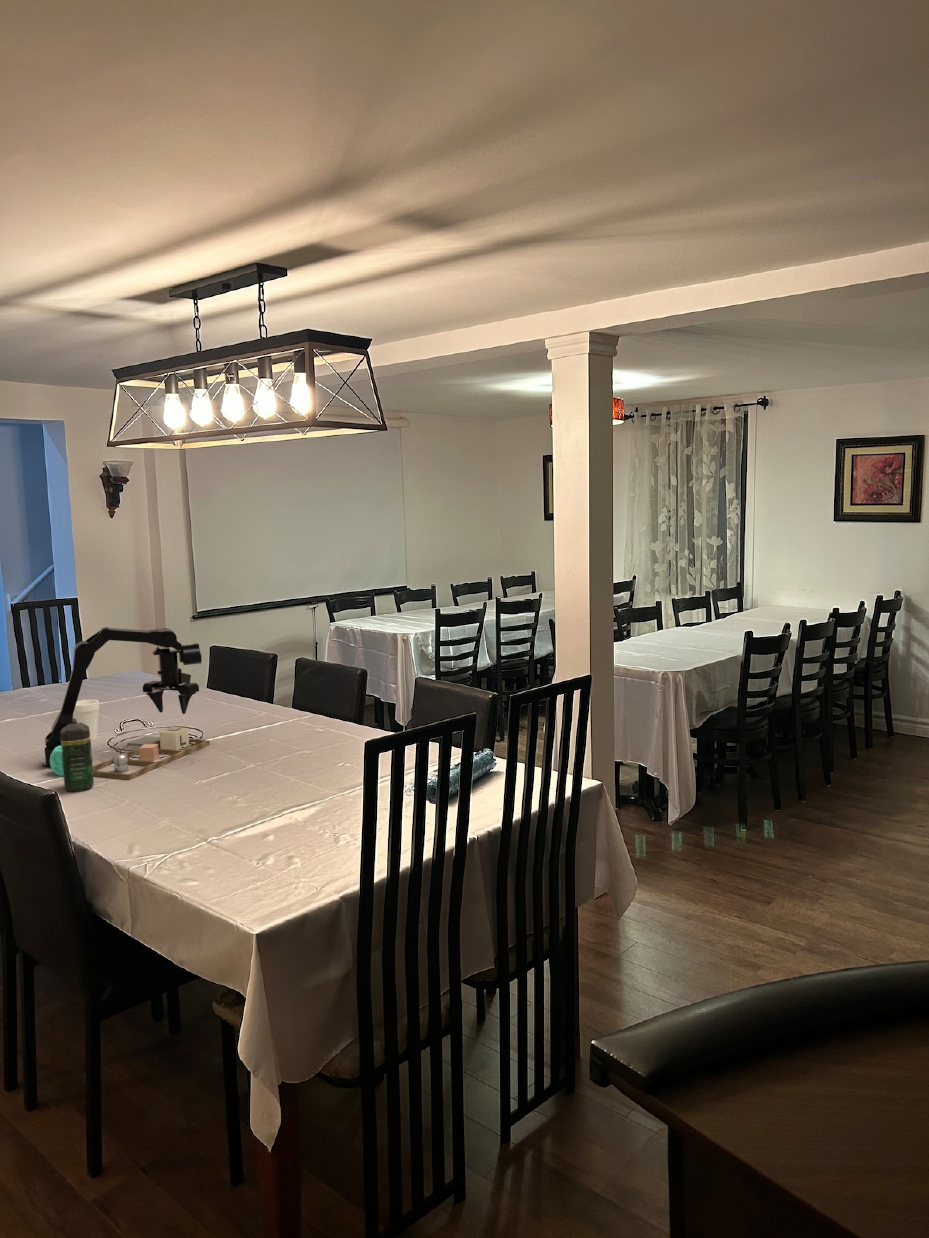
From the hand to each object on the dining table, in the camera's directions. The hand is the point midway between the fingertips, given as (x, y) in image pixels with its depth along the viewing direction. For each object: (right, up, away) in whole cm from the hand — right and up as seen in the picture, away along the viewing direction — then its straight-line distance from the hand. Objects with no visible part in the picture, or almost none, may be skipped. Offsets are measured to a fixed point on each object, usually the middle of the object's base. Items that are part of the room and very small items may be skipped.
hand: (172, 713), depth 299 cm
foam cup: (-35, -11, +17) cm, 41 cm away
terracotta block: (-4, -14, -10) cm, 18 cm away
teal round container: (-24, -16, -22) cm, 36 cm away
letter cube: (0, -12, +2) cm, 12 cm away
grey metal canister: (-9, -16, -22) cm, 28 cm away
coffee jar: (-15, -18, -37) cm, 44 cm away
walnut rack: (-4, -14, -10) cm, 18 cm away
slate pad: (-12, -11, +11) cm, 20 cm away
